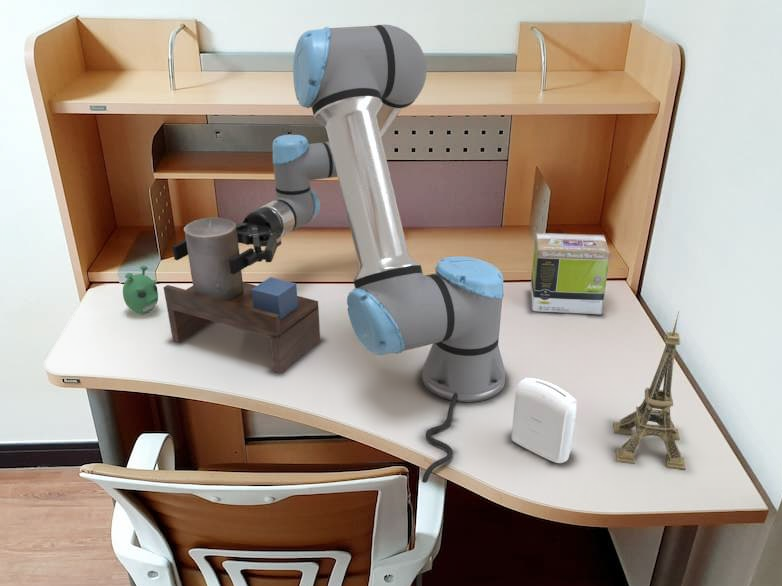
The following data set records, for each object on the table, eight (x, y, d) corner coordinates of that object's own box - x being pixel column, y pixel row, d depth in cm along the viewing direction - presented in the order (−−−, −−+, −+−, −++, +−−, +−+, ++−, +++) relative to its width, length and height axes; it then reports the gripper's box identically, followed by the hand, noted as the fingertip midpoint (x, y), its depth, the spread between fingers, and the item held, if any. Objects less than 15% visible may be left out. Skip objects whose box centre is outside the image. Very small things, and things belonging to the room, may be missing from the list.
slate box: (298, 307, 146) (296, 283, 143) (280, 320, 141) (278, 296, 138) (272, 300, 148) (270, 277, 145) (253, 313, 143) (251, 289, 141)
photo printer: (506, 440, 126) (513, 378, 119) (521, 429, 128) (528, 367, 122) (559, 468, 120) (569, 404, 113) (573, 456, 122) (584, 392, 116)
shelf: (320, 340, 153) (317, 287, 146) (280, 373, 142) (275, 317, 136) (217, 312, 162) (210, 260, 156) (172, 341, 152) (163, 287, 145)
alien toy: (145, 323, 158) (137, 279, 153) (119, 314, 161) (110, 271, 156) (170, 310, 163) (163, 267, 158) (144, 301, 166) (136, 259, 161)
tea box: (596, 295, 171) (606, 233, 163) (601, 316, 163) (612, 252, 155) (529, 291, 172) (535, 230, 164) (530, 312, 164) (538, 248, 156)
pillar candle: (238, 278, 156) (230, 208, 148) (248, 298, 148) (239, 225, 140) (190, 285, 153) (179, 214, 145) (197, 306, 145) (186, 232, 137)
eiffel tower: (616, 461, 121) (644, 324, 108) (613, 423, 130) (639, 291, 117) (685, 469, 120) (722, 331, 106) (677, 430, 128) (710, 298, 115)
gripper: (319, 251, 157) (258, 291, 141) (223, 230, 167) (155, 265, 151) (317, 217, 153) (254, 254, 137) (219, 197, 163) (149, 229, 147)
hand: (202, 260), depth 144 cm, fingers open, 13 cm apart
